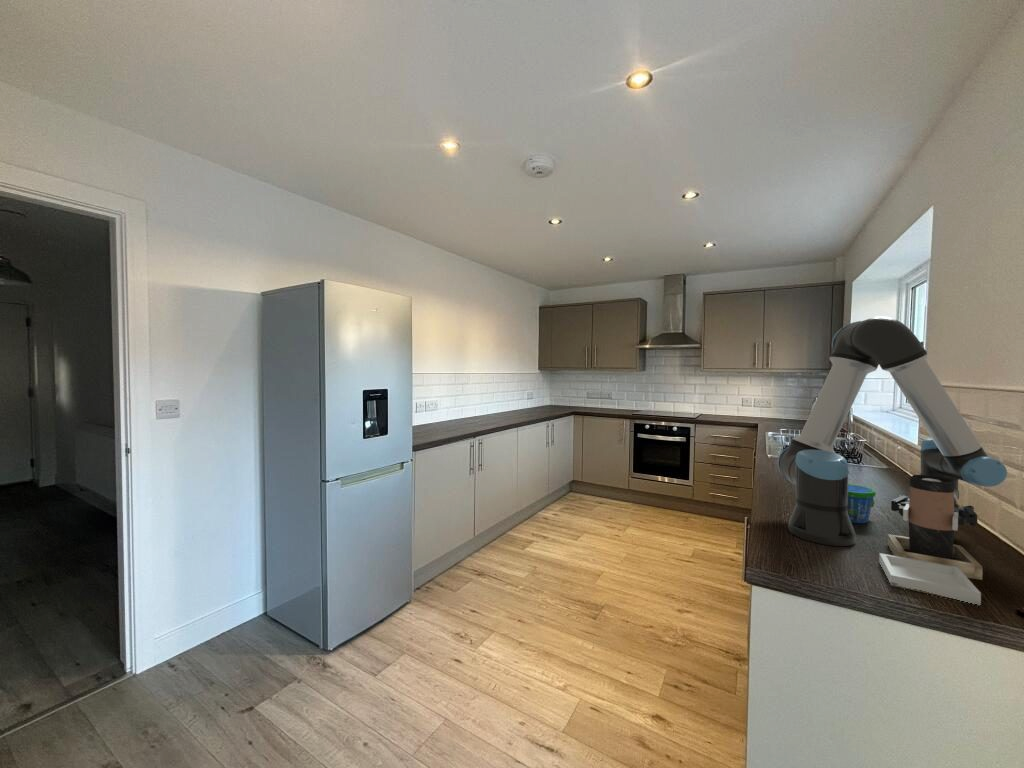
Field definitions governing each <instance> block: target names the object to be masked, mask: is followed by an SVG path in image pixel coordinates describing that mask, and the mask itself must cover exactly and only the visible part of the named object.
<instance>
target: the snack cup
mask: <svg viewBox="0 0 1024 768" xmlns="http://www.w3.org/2000/svg"><path fill="white" fill-rule="evenodd" d="M876 495H877V494H876V491H875V490H874V489H873V488H869V487H867V486H862V485H858V484H857V485H856V484H849V483H848V505H847V509H848V515H849V518H850V520H851V523H852V524H866V523H868V522H869V519H870V516H871V510H872V508H873V507H874V506H875V501H874V497H875V496H876Z"/></svg>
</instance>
